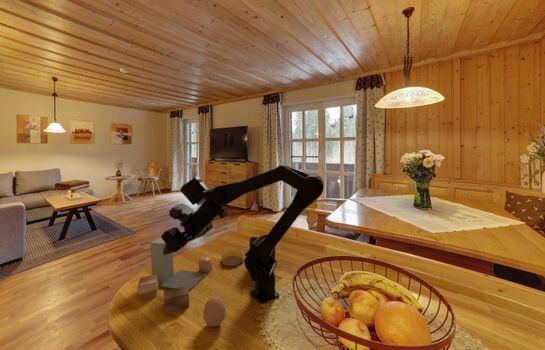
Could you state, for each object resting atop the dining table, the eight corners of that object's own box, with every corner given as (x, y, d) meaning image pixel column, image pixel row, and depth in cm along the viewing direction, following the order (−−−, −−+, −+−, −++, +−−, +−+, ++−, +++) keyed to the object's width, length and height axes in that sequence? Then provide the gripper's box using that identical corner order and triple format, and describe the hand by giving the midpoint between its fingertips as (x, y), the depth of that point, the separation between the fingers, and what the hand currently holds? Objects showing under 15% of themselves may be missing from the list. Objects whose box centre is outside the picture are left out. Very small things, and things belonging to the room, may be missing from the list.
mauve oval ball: (205, 336, 52) (204, 307, 52) (202, 321, 57) (201, 294, 56) (228, 328, 54) (227, 301, 54) (223, 314, 59) (222, 289, 58)
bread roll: (242, 254, 94) (241, 245, 94) (244, 265, 85) (244, 254, 85) (221, 257, 92) (220, 247, 92) (221, 267, 84) (221, 257, 83)
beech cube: (156, 296, 67) (155, 282, 66) (138, 300, 65) (137, 285, 65) (158, 288, 71) (157, 274, 71) (141, 291, 69) (140, 277, 69)
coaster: (206, 275, 78) (206, 273, 78) (188, 292, 69) (188, 290, 69) (180, 271, 81) (180, 269, 81) (159, 287, 71) (159, 285, 71)
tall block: (173, 276, 78) (172, 238, 76) (164, 283, 73) (162, 243, 72) (162, 274, 79) (160, 237, 78) (152, 281, 74) (150, 242, 73)
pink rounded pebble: (214, 270, 81) (213, 259, 81) (201, 274, 79) (201, 263, 78) (209, 265, 85) (209, 255, 84) (197, 269, 82) (196, 258, 82)
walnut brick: (187, 299, 66) (187, 285, 65) (189, 307, 62) (188, 293, 62) (164, 305, 63) (163, 291, 63) (164, 314, 60) (163, 299, 59)
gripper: (203, 191, 80) (177, 220, 84) (165, 202, 62) (134, 239, 66) (225, 215, 78) (197, 243, 82) (192, 234, 60) (158, 269, 64)
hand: (174, 247), depth 74 cm, fingers open, 9 cm apart
